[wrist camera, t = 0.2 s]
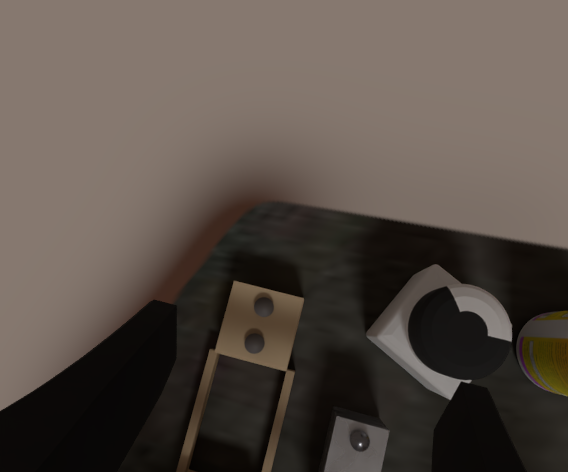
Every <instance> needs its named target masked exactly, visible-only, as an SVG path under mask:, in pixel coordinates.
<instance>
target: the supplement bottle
mask: <svg viewBox="0 0 568 472" xmlns="http://www.w3.org/2000/svg"><path fill="white" fill-rule="evenodd" d="M516 353H517V358H518V362H519V364H520V367H521V369H522V370H523V372H524V373H525V375H526V376H527V377H528V378H529V379H530V380H531V381H532V382H533V383H534V384H536V385H537V386H539V387H540V388H542V389H544V390H547V391H550V392H553V393H556V394H561V395H565V396H568V311H557V312H549V313H543V314H540V315H538V316H536V317H534V318H532V319H531V320H529V321H528V322H527V323H526V324H525V325H524V326H523V328H522V329H521V331H520V333H519V336H518V339H517V344H516Z"/></svg>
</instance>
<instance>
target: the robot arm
mask: <svg viewBox="0 0 568 472" xmlns="http://www.w3.org/2000/svg"><path fill="white" fill-rule="evenodd" d="M176 339H177V306H176V305H173V304H169V303H165V302H161V301H157V300H153V301H151V302H149V303H148V304H147V305H146V306H145V307H143V308H142V309H141V310H140V311H139V312H138V313H137V314H136V315H134V316H133V317H132V318H131V319H129V320H128V321H127V322H126V323H125V324H123V325H122V326H121V327H120V328H119V329H118V330H116V331H115V332H114V333H113V334H111V335H110V336H109V337H108V338H106V339H105V340H104V341H102V342H101V343H100V344H98V345H97V346H96V347H95V348H93V349H92V350H91V351H90V352H88V353H87V354H86V355H84V356H83V357H82V358H80V359H79V360H78V361H76V362H75V363H73V364H72V365H70V366H69V367H68V368H66V369H65V370H64V371H62V372H61V373H59V374H58V375H56V376H55V377H53V378H52V379H51V380H49V381H48V382H46V383H45V384H43V385H42V386H40V387H39V388H37V389H36V390H34V391H33V392H31V393H29V394H28V395H26V396H24V397H23V398H21V399H20V400H18V401H16V402H15V403H13V404H11V405H10V406H8V407H6V408H5V409H3V410H1V411H0V472H117V470H118V469H119V467H120V465H121V463H122V462H123V460H124V458H125V457H126V455H127V453H128V451H129V450H130V448H131V446H132V444H133V443H134V441H135V439H136V437H137V436H138V434H139V432H140V430H141V429H142V427H143V425H144V424H145V422H146V420H147V418H148V416H149V415H150V413H151V411H152V409H153V408H154V406H155V404H156V402H157V401H158V399H159V397H160V395H161V393H162V391H163V389H164V386H165V384H166V382H167V380H168V377H169V375H170V372H171V370H172V368H173V365H174V363H175V360H176ZM432 472H527V471H526V469H525V467H524V465H523V463H522V461H521V459H520V457H519V455H518V453H517V451H516V449H515V447H514V445H513V443H512V441H511V439H510V436H509V434H508V432H507V430H506V428H505V426H504V423H503V421H502V419H501V417H500V415H499V412H498V410H497V408H496V406H495V404H494V401H493V399H492V397H491V395H490V392H489V391H488V389H487V388H485V387H481V386H477V385H473V384H470V383H466V382H462V381H461V382H460V384H459V386H458V388H457V389H456V391H455V393H454V395H453V397H452V398H451V400H450V402H449V404H448V406H447V407H446V409H445V411H444V413H443V414H442V416H441V418H440V420H439V422H438V423H437V425H436V427H435V429H434V437H433V452H432Z"/></svg>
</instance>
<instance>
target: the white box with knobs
mask: <svg viewBox="0 0 568 472" xmlns="http://www.w3.org/2000/svg"><path fill="white" fill-rule="evenodd" d="M388 435H389V429H388V428H387V427H386V426H385V424H384V423H383V422H382V421H381V419H380V418H376V417H373V416H369V415H365V414H362V413H358V412H354V411H351V410H347V409H343V408H340V407H336V406H333V409H332V413H331V417H330V422H329V426H328V431H327V435H326V439H325V444H324V448H323V452H322V457H321V461H320V466H319V470H318V472H381V468H382V464H383V459H384V454H385V449H386V444H387V440H388Z"/></svg>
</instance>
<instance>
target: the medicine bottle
mask: <svg viewBox="0 0 568 472" xmlns="http://www.w3.org/2000/svg"><path fill="white" fill-rule="evenodd" d="M366 336H367V338H369V339H370V340H371V341H372V342H373V343H374V344H376V345H377V346H378V347H379V348H380V349H381V350H383V351H384V352H385V353H386V354H387V355H388V356H390V357H391V358H392V359H393V360H394V361H396V362H397V363H398V364H399V365H400V366H401V367H403V368H404V369H405V370H406V371H407V372H408V373H410V374H411V375H412V376H413V377H414V378H415V379H417V380H418V381H419V382H420V383H421V384H423V385H424V386H425V387H426V388H427V389H429V390H431V391H433V392H435V393H437V394H439V395H441V396H443V397H445V398H447V399H449V400H451V398H452V397H453V395H454V393H455V391H456V389H457V388H458V386H459V384H460V382H461V381H462V382H466V383H470V382H471V381H472V380H475V379H480V378H483V377H485V376H487V375H489V374H491V373H493V372H494V371H495V370H497V369H498V368H499V367H500V366H501V365H502V363H503V362H504V361H505V359H506V357H507V355H508V353H509V350H510V347H511V342H512V324H511V323H510V320H509V317H508V315H507V313H506V311H505V309H504V308H503V306H502V305H501V303H500V302H499V301H498V300H497V299H496V298H495V297H494V296H493V295H491V294H490V293H489V292H487V291H485V290H483V289H481V288H479V287H476V286H473V285H468V284H461V283H460V282H459V281H458V280H456V279H455V278H454V277H453V276H451V275H450V274H449V273H448V272H446V271H445V270H444V269H443V268H441V267H440V266H439V265H437V264H434V265H432V266H430V267H428V268H426V269H424V270H422V271H420V272H418V273H416V274H414V275H413V276H412V277H411V278H410V280H409V281H408V282H407V283H406V285H405V286H404V287H403V288H402V289H401V291H400V292H399V293H398V294H397V295H396V297H395V298H394V299H393V300H392V302H391V303H390V304H389V305H388V306H387V308H386V309H385V310H384V311H383V313H382V314H381V315H380V316H379V317H378V319H377V320H376V321H375V322H374V324H373V325H372V326H371V327H370V328H369V330H368V331H367V333H366Z"/></svg>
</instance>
